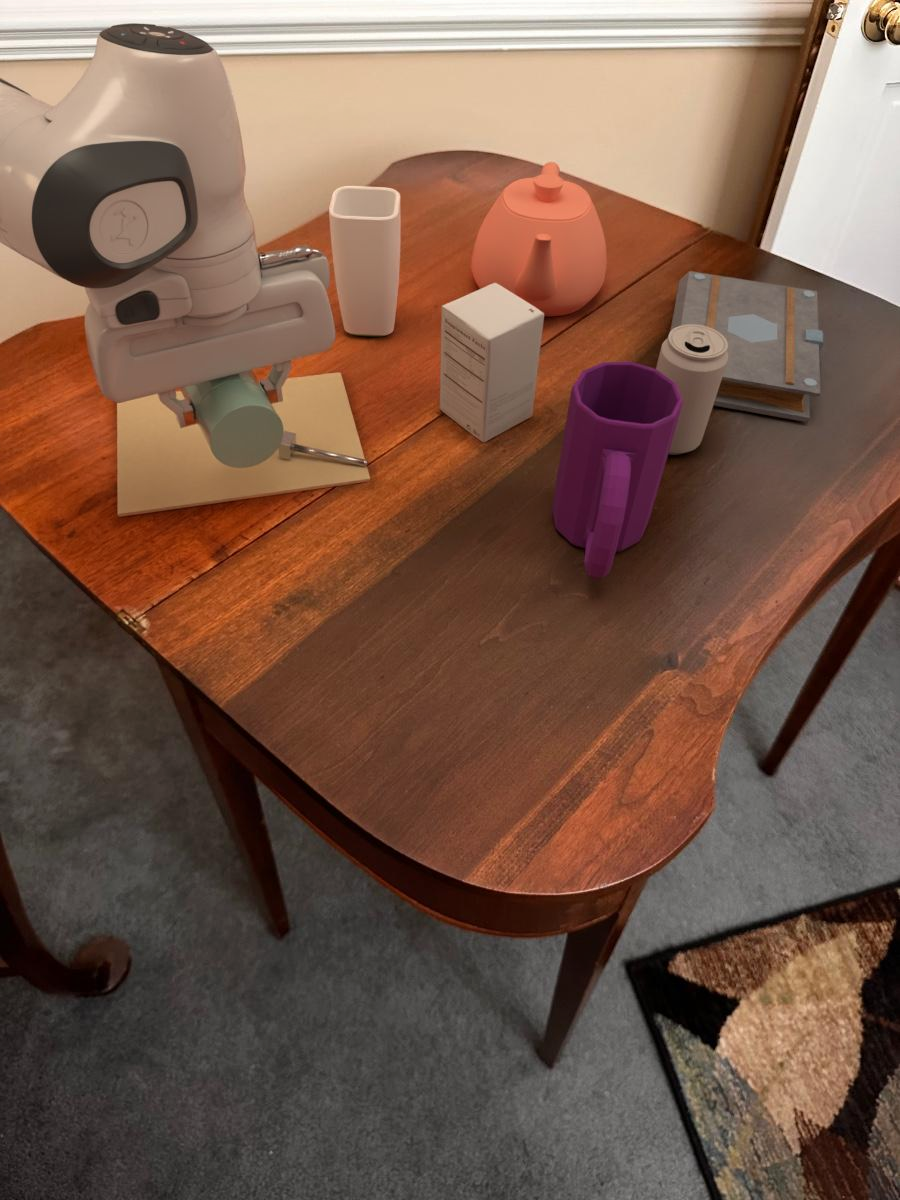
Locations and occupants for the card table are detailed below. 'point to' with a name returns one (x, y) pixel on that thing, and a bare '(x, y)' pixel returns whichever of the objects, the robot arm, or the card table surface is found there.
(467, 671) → the card table surface
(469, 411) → the white packaging box
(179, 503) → the mat
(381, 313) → the cup
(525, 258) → the teapot
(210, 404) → the tumbler
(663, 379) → the mug
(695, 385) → the beverage can
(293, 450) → the metal mallet
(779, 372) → the book
